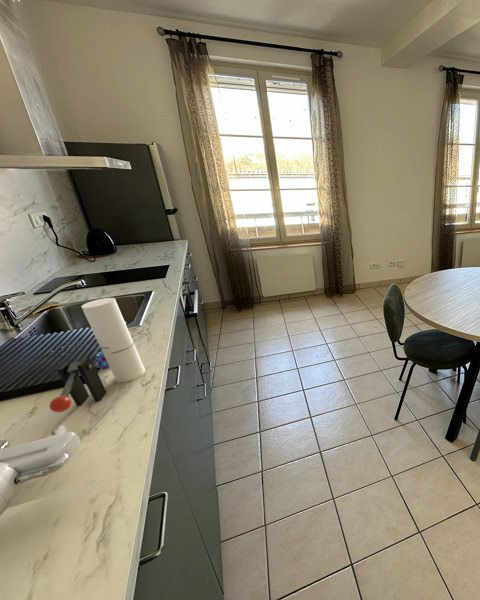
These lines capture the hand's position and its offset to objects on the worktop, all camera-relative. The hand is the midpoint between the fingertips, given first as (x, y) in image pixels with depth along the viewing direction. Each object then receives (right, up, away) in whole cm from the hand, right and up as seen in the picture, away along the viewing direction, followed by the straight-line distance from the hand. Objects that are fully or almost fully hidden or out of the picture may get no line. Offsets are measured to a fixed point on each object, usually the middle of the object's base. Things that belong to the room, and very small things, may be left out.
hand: (32, 435), depth 68 cm
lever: (-6, +5, +14) cm, 16 cm away
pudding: (-17, +7, +39) cm, 43 cm away
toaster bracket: (-7, 0, +22) cm, 23 cm away
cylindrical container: (-5, +4, +31) cm, 32 cm away
